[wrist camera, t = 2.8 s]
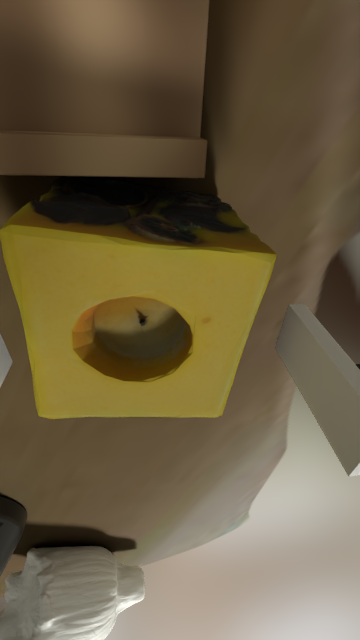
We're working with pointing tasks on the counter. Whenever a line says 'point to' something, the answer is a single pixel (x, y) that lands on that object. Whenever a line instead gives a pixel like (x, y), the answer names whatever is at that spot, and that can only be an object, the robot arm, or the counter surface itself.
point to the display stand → (102, 88)
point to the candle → (133, 297)
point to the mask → (68, 594)
